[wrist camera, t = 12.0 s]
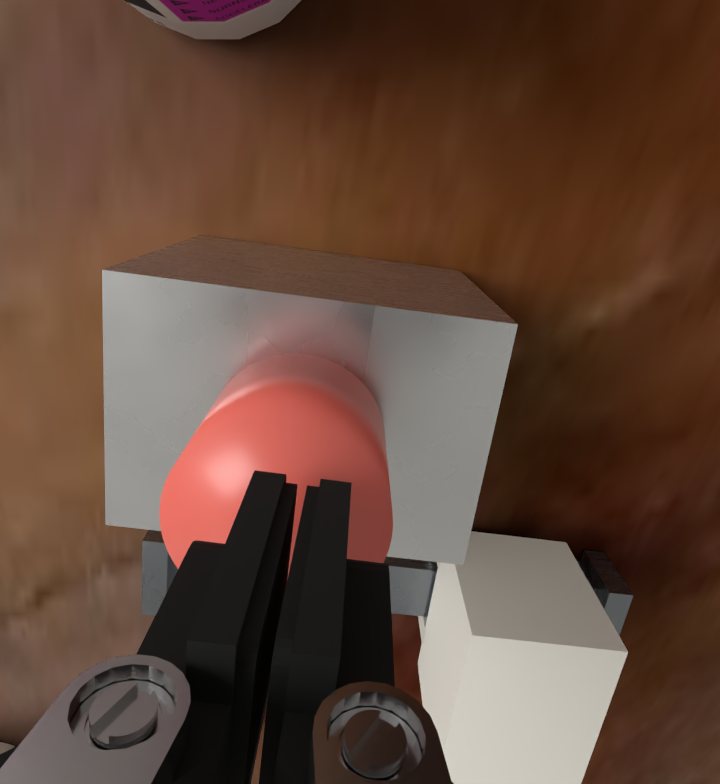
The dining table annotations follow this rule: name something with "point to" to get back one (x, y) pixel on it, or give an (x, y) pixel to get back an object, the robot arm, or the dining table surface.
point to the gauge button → (282, 453)
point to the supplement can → (215, 16)
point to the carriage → (517, 663)
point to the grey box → (310, 337)
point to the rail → (396, 581)
